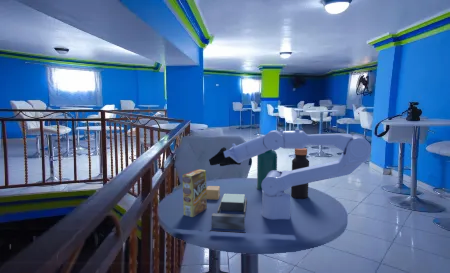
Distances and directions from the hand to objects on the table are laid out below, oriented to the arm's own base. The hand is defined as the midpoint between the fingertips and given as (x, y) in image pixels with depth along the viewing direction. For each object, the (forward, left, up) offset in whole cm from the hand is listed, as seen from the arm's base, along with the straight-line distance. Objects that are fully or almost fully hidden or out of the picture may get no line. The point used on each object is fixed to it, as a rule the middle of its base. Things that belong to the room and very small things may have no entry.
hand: (215, 163), depth 102 cm
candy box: (+6, +4, -18) cm, 19 cm away
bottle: (-32, -19, -18) cm, 41 cm away
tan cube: (+3, -11, -18) cm, 21 cm away
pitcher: (-18, -28, -18) cm, 38 cm away
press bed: (-6, +4, -18) cm, 19 cm away
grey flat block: (-6, -2, -17) cm, 18 cm away
